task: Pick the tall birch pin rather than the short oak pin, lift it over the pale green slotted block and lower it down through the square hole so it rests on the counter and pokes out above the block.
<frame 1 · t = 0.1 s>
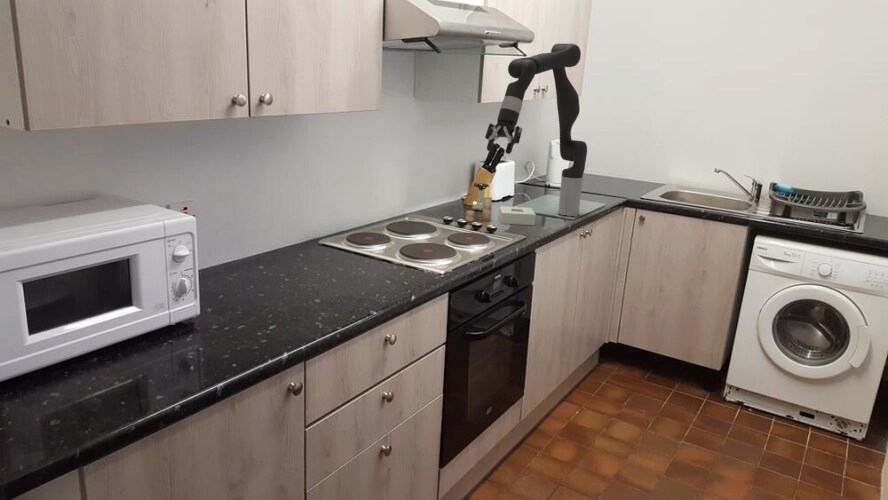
hand: (498, 152, 243), 31 cm above the worktop, tool tilted 20°, fingers open, 8 cm apart
short pin: (469, 220, 272), on the worktop
pale green slotted block: (516, 220, 276), on the worktop
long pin: (486, 220, 274), on the worktop
valve: (479, 210, 293), on the worktop
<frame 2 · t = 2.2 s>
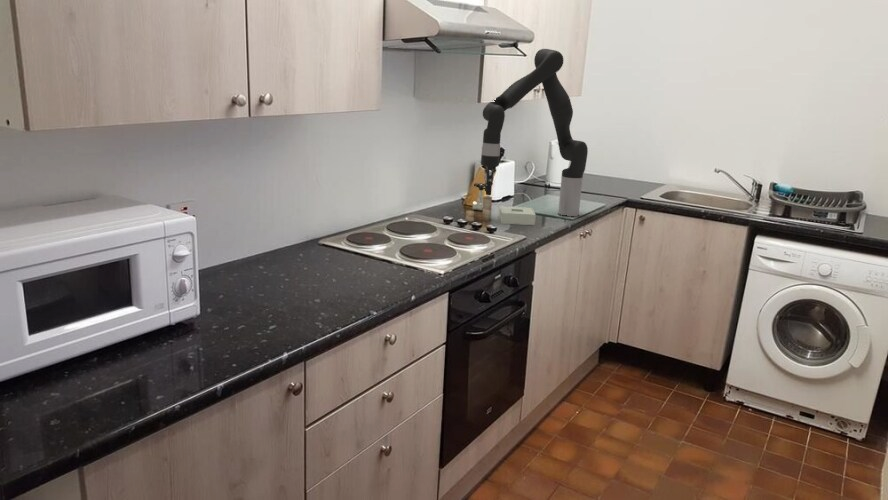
hand: (487, 193, 271), 12 cm above the worktop, tool pointing down, fingers open, 8 cm apart
nothing on the worktop moved.
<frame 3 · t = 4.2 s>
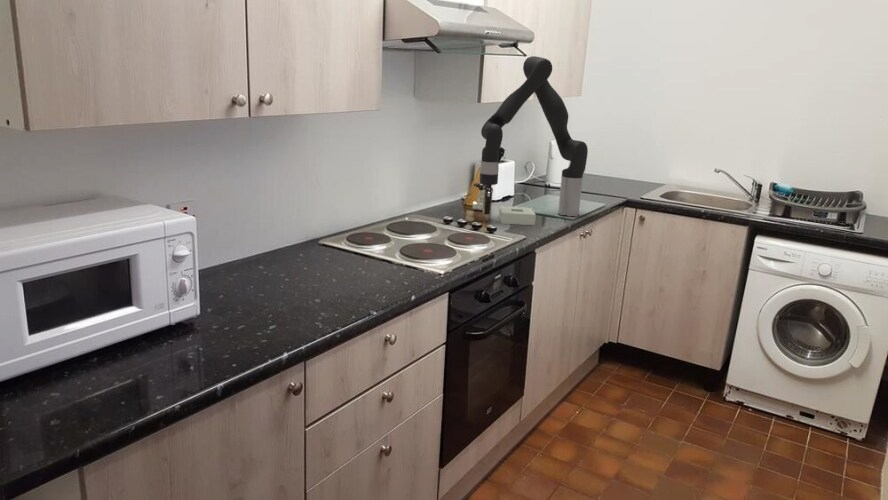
hand: (486, 212, 273), 3 cm above the worktop, tool pointing down, fingers closed on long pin, 3 cm apart
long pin: (486, 220, 274), on the worktop, touching gripper
everything else where it was.
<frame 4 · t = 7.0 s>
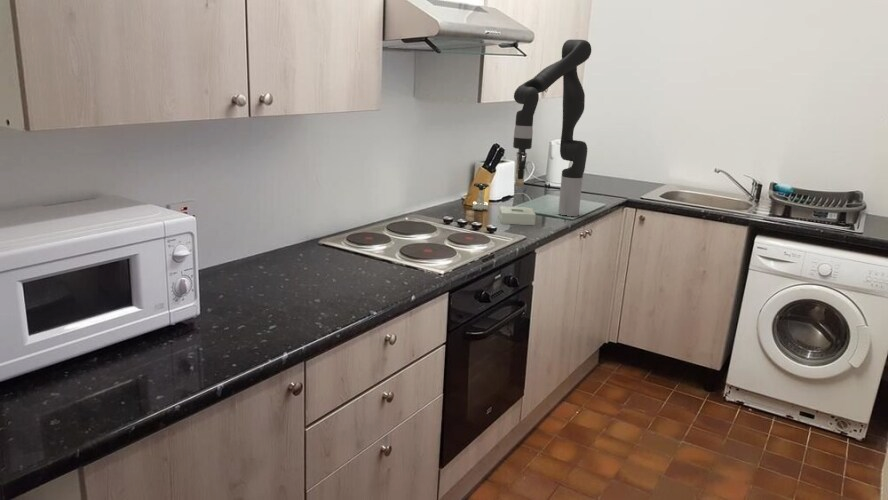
hand: (519, 178, 271), 18 cm above the worktop, tool pointing down, fingers closed on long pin, 3 cm apart
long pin: (519, 185, 272), point 15 cm above the worktop, touching gripper
everything else where it was.
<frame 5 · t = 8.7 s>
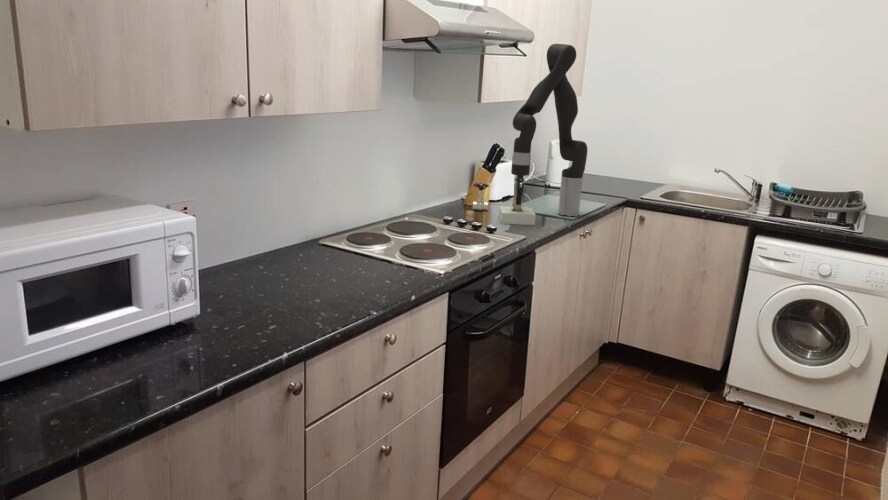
hand: (517, 203, 274), 7 cm above the worktop, tool pointing down, fingers closed on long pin, 3 cm apart
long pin: (517, 211, 275), point 4 cm above the worktop, touching gripper
everything else where it was.
when the fingers open (6 cm above the worktop, at t = 9.9 s): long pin drops 2 cm, on the worktop.
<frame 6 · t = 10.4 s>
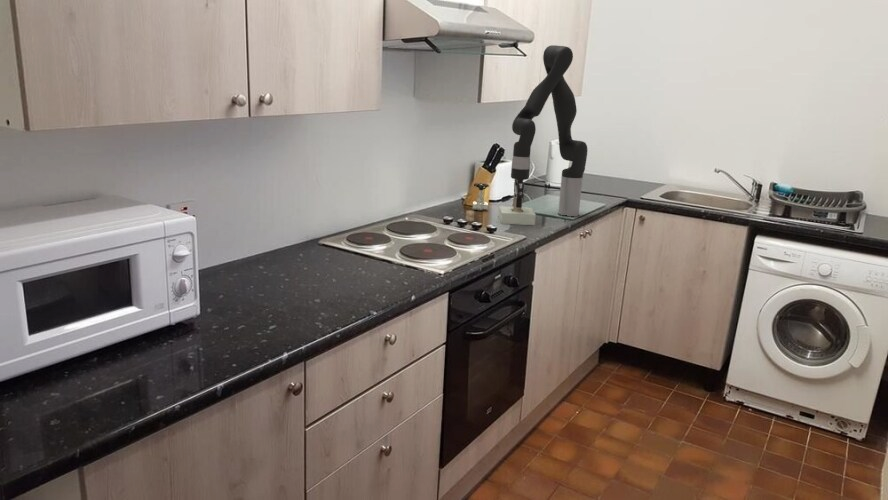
hand: (517, 205, 274), 7 cm above the worktop, tool pointing down, fingers open, 8 cm apart
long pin: (516, 220, 276), on the worktop
everything else where it was.
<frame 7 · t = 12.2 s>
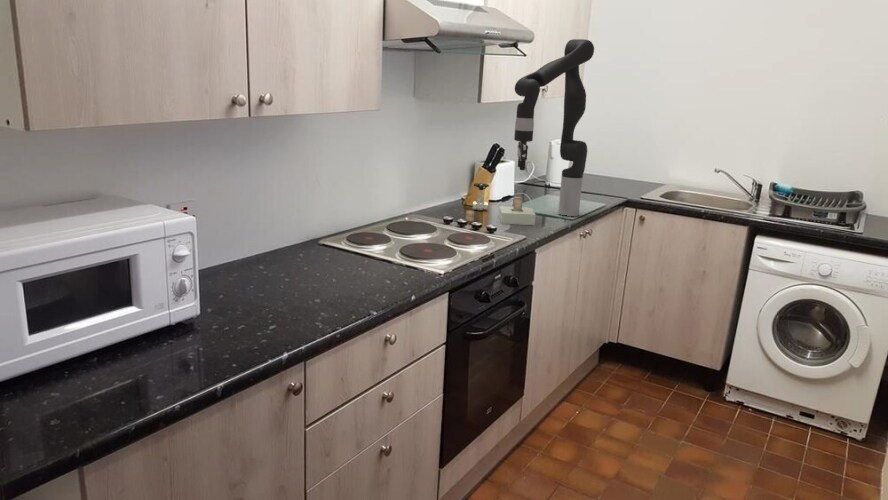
hand: (521, 168, 270), 22 cm above the worktop, tool pointing down, fingers open, 8 cm apart
nothing on the worktop moved.
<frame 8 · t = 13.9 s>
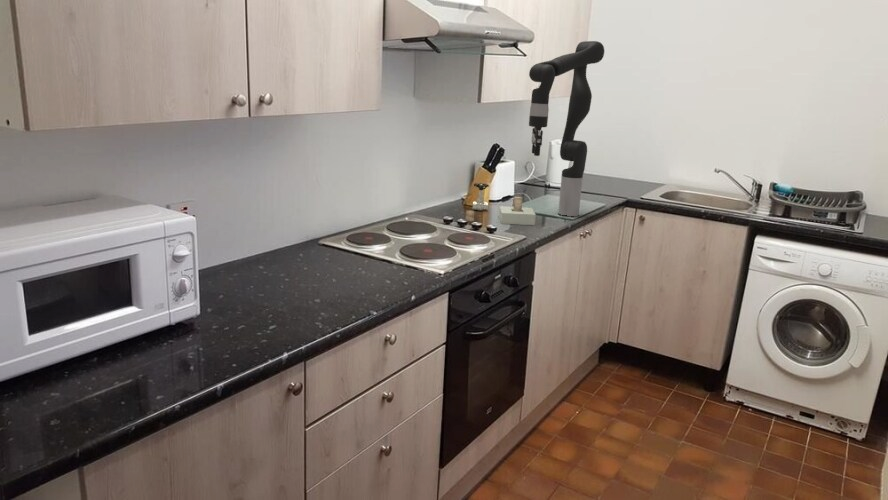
hand: (535, 154, 270), 28 cm above the worktop, tool pointing down, fingers open, 8 cm apart
nothing on the worktop moved.
at the end: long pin 0.2 cm off-centre on the pale green slotted block, point 0.0 cm above the pale green slotted block's base; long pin tilted 0°; short pin moved 0.1 cm from its start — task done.
